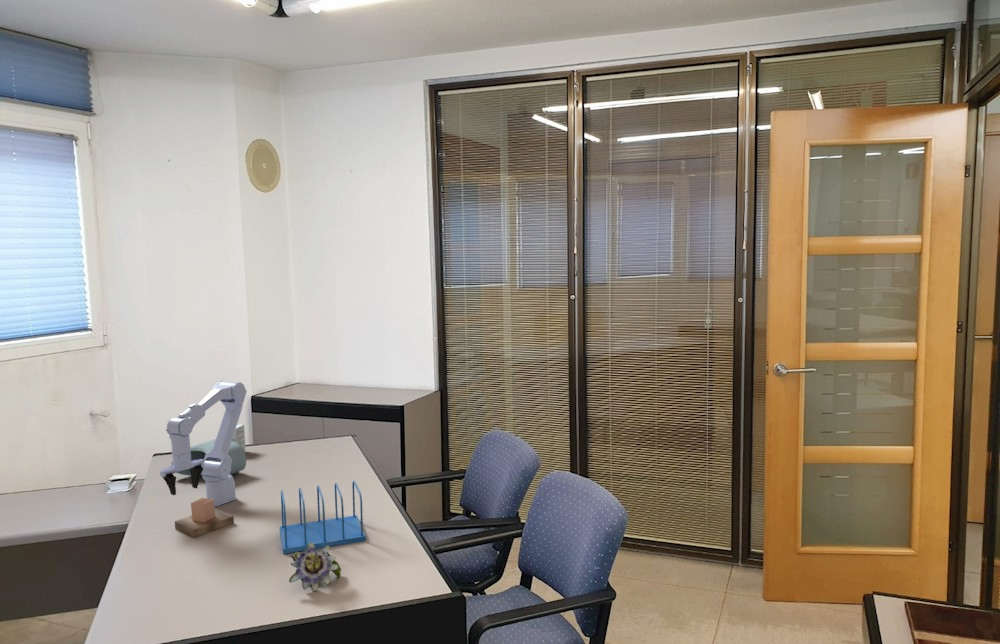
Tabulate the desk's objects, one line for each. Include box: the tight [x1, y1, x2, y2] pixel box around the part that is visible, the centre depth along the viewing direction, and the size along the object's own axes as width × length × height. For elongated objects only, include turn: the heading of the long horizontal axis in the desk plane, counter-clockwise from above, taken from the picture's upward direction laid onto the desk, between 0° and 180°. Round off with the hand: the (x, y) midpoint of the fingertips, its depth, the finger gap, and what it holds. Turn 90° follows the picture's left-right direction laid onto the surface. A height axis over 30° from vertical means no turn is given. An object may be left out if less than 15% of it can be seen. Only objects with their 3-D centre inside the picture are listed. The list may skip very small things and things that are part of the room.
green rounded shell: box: [171, 438, 247, 481], centre depth 278 cm, size 22×19×13 cm
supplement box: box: [232, 423, 246, 452], centre depth 307 cm, size 7×7×13 cm
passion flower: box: [288, 542, 342, 593], centre depth 193 cm, size 13×12×14 cm
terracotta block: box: [190, 497, 216, 522], centre depth 231 cm, size 5×5×6 cm
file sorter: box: [279, 480, 366, 555], centre depth 222 cm, size 25×17×15 cm
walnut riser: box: [174, 507, 235, 539], centre depth 232 cm, size 14×12×2 cm
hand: (184, 490), depth 238 cm, fingers open, 7 cm apart
